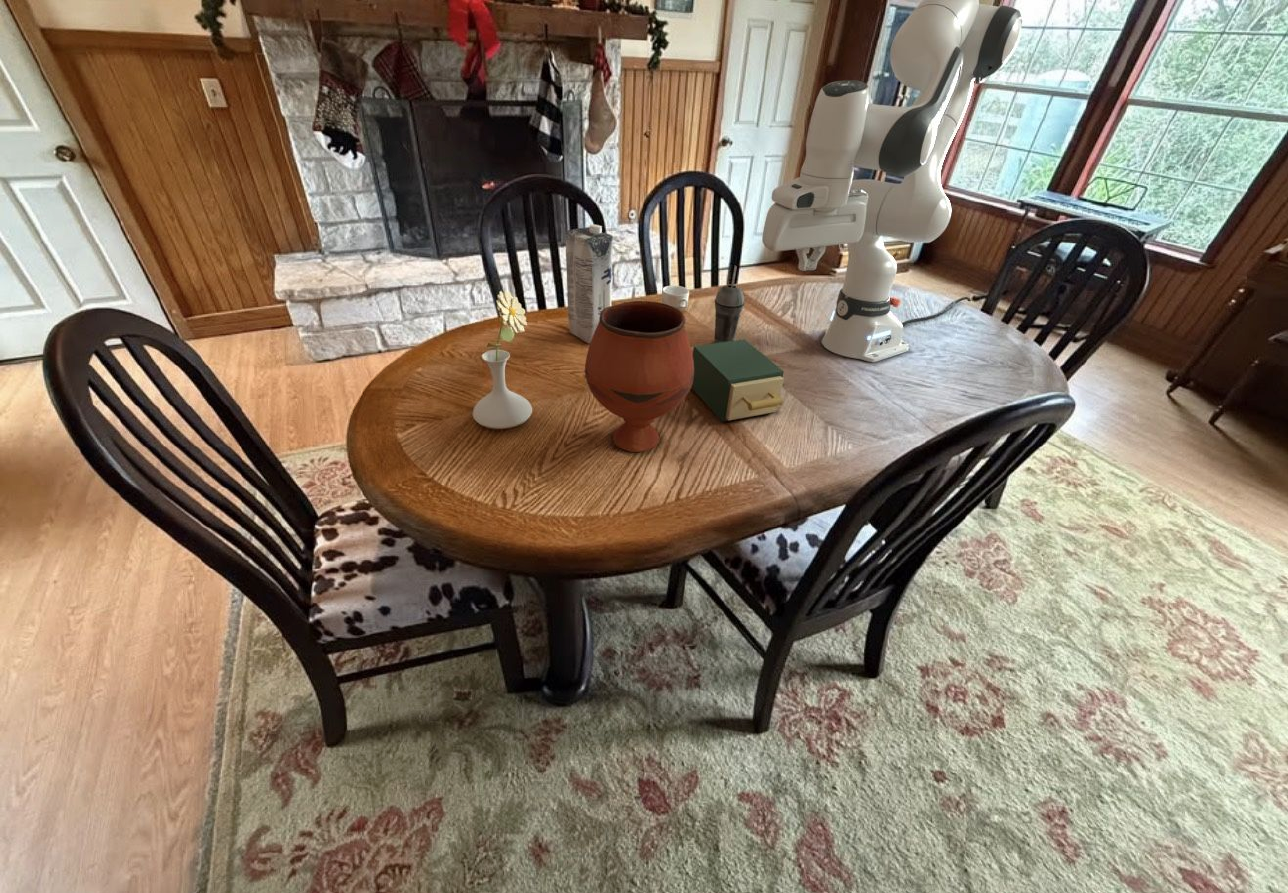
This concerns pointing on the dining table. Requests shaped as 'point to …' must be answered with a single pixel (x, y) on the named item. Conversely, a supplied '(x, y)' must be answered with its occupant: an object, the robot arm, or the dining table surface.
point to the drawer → (754, 397)
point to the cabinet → (727, 371)
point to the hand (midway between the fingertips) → (806, 269)
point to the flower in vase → (503, 373)
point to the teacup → (675, 296)
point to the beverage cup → (728, 311)
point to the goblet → (639, 367)
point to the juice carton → (588, 278)
